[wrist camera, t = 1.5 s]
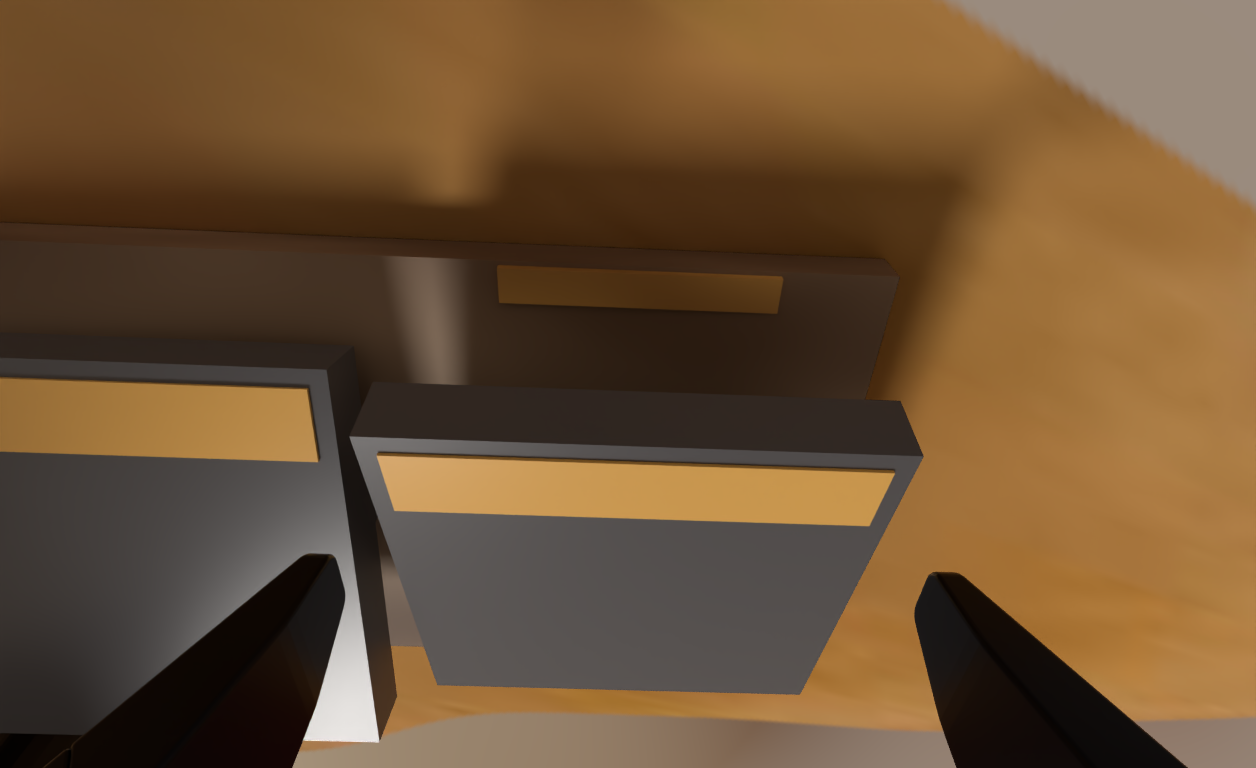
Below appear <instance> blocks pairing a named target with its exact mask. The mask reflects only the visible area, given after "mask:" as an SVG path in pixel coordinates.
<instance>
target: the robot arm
mask: <svg viewBox="0 0 1256 768" xmlns="http://www.w3.org/2000/svg"><path fill="white" fill-rule="evenodd" d="M344 605H345V588H344V584H343V581H342V577H341V574H340V570H339V566H338V563H337V560H336V558H335V557H334V556H333V555H332V554H319V553H308V554H305V555H303V556H301V557H300V558H298V559H297V560H296V561H295V562H294V563H292V564H291V565H290V566H289V567H288V568H286V569H285V570H284V571H283V572H281V573H280V574H279V575H278V576H277V577H275V578H274V579H273V580H272V581H270V582H269V583H268V584H267V585H266V586H264V587H263V588H262V589H261V590H259V591H258V592H257V593H256V594H255V595H253V596H252V597H251V598H250V599H248V600H247V601H246V602H245V603H244V604H242V605H241V606H240V607H239V608H237V609H236V610H235V611H234V612H233V613H231V614H230V615H229V616H228V617H227V618H225V619H224V620H223V621H222V622H220V623H219V624H218V625H217V626H216V627H214V628H213V629H212V630H211V631H209V632H208V633H207V634H206V635H205V636H203V637H202V638H201V639H200V640H198V641H197V642H196V643H195V644H194V645H192V646H191V647H190V648H189V649H187V650H186V651H185V652H184V653H183V654H181V655H180V656H179V657H178V658H176V659H175V660H174V661H173V662H172V663H170V664H169V665H168V666H167V667H165V668H164V669H163V670H162V671H161V672H159V673H158V674H157V675H156V676H155V677H153V678H152V679H151V680H150V681H148V682H147V683H146V684H145V685H144V686H142V687H141V688H140V689H139V690H137V691H136V692H135V693H134V694H133V695H131V696H130V697H129V698H128V699H126V700H125V701H124V702H123V703H122V704H120V705H119V706H118V707H117V708H115V709H114V710H113V711H112V712H111V713H109V714H108V715H107V716H106V717H104V718H103V719H102V720H101V721H100V722H98V723H97V724H96V725H95V726H93V727H92V728H91V729H90V730H89V731H87V732H86V733H85V734H84V735H63V734H22V733H0V768H292V767H293V764H294V762H295V759H296V757H297V754H298V752H299V749H300V747H301V744H302V742H303V739H304V737H305V734H306V732H307V729H308V727H309V724H310V722H311V719H312V716H313V713H314V711H315V708H316V705H317V702H318V699H319V695H320V692H321V689H322V685H323V681H324V678H325V674H326V670H327V667H328V663H329V660H330V656H331V652H332V649H333V645H334V641H335V638H336V634H337V631H338V627H339V623H340V620H341V616H342V612H343V609H344ZM914 616H915V623H916V628H917V632H918V636H919V640H920V644H921V648H922V652H923V656H924V660H925V664H926V668H927V672H928V676H929V680H930V684H931V689H932V693H933V697H934V701H935V705H936V708H937V712H938V716H939V719H940V722H941V725H942V728H943V731H944V734H945V737H946V740H947V743H948V745H949V748H950V751H951V754H952V757H953V759H954V762H955V765H956V768H1188V767H1186V766H1185V765H1184V764H1183V763H1181V762H1180V761H1179V760H1178V759H1177V758H1176V757H1175V756H1173V755H1172V754H1171V753H1170V752H1169V751H1168V750H1166V749H1165V748H1164V747H1163V746H1162V745H1161V744H1159V743H1158V742H1157V741H1156V740H1155V739H1153V738H1152V737H1151V736H1150V735H1149V734H1148V733H1147V732H1145V731H1144V730H1143V729H1142V728H1141V727H1140V726H1138V725H1137V724H1136V723H1135V722H1134V721H1133V720H1131V719H1130V718H1129V717H1128V716H1127V715H1125V714H1124V713H1123V712H1122V711H1121V710H1120V709H1118V708H1117V707H1116V706H1115V705H1114V704H1113V703H1111V702H1110V701H1109V700H1108V699H1107V698H1106V697H1104V696H1103V695H1102V694H1101V693H1100V692H1099V691H1097V690H1096V689H1095V688H1094V687H1093V686H1092V685H1090V684H1089V683H1088V682H1087V681H1086V680H1084V679H1083V678H1082V677H1081V676H1080V675H1079V674H1077V673H1076V672H1075V671H1074V670H1073V669H1072V668H1070V667H1069V666H1068V665H1067V664H1066V663H1065V662H1063V661H1062V660H1061V659H1060V658H1059V657H1058V656H1056V655H1055V654H1054V653H1053V652H1052V651H1051V650H1049V649H1048V648H1047V647H1046V646H1045V645H1043V644H1042V643H1041V642H1040V641H1039V640H1038V639H1036V638H1035V637H1034V636H1033V635H1032V634H1031V633H1029V632H1028V631H1027V630H1026V629H1025V628H1024V627H1022V626H1021V625H1020V624H1019V623H1018V622H1017V621H1015V620H1014V619H1013V618H1012V617H1011V616H1010V615H1008V614H1007V613H1006V612H1005V611H1004V610H1003V609H1001V608H1000V607H999V606H998V605H997V604H995V603H994V602H993V601H992V600H991V599H990V598H988V597H987V596H986V595H985V594H984V593H983V592H981V591H980V590H979V589H978V588H977V587H976V586H974V585H973V584H972V583H971V582H970V581H969V580H967V579H966V578H965V577H964V576H962V575H961V574H959V573H954V572H932V573H931V574H930V575H929V576H928V578H927V580H926V582H925V584H924V587H923V589H922V592H921V594H920V596H919V599H918V601H917V604H916V607H915V615H914Z"/></svg>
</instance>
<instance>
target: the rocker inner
mask: <svg viewBox="0 0 1256 768" xmlns="http://www.w3.org/2000/svg"><path fill="white" fill-rule="evenodd" d="M360 411H361V400H360V392H359V384H358V376H357V368H356V359H355V351H354V346H351V345H325V344H298V343H272V342H245V341H219V340H192V339H166V338H139V337H113V336H86V335H59V334H33V333H6V332H0V733H22V734H63V735H84V734H85V733H86V732H87V731H89V730H90V729H91V728H92V727H93V726H95V725H96V724H97V723H98V722H100V721H101V720H102V719H103V718H104V717H106V716H107V715H108V714H109V713H111V712H112V711H113V710H114V709H115V708H117V707H118V706H119V705H120V704H122V703H123V702H124V701H125V700H126V699H128V698H129V697H130V696H131V695H133V694H134V693H135V692H136V691H137V690H139V689H140V688H141V687H142V686H144V685H145V684H146V683H147V682H148V681H150V680H151V679H152V678H153V677H155V676H156V675H157V674H158V673H159V672H161V671H162V670H163V669H164V668H165V667H167V666H168V665H169V664H170V663H172V662H173V661H174V660H175V659H176V658H178V657H179V656H180V655H181V654H183V653H184V652H185V651H186V650H187V649H189V648H190V647H191V646H192V645H194V644H195V643H196V642H197V641H198V640H200V639H201V638H202V637H203V636H205V635H206V634H207V633H208V632H209V631H211V630H212V629H213V628H214V627H216V626H217V625H218V624H219V623H220V622H222V621H223V620H224V619H225V618H227V617H228V616H229V615H230V614H231V613H233V612H234V611H235V610H236V609H237V608H239V607H240V606H241V605H242V604H244V603H245V602H246V601H247V600H248V599H250V598H251V597H252V596H253V595H255V594H256V593H257V592H258V591H259V590H261V589H262V588H263V587H264V586H266V585H267V584H268V583H269V582H270V581H272V580H273V579H274V578H275V577H277V576H278V575H279V574H280V573H281V572H283V571H284V570H285V569H286V568H288V567H289V566H290V565H291V564H292V563H294V562H295V561H296V560H297V559H298V558H300V557H301V556H303V555H305V554H308V553H319V554H332V555H333V556H334V557H335V558H336V560H337V563H338V566H339V570H340V574H341V577H342V581H343V584H344V588H345V605H344V609H343V612H342V616H341V620H340V623H339V627H338V631H337V634H336V638H335V641H334V645H333V649H332V652H331V656H330V660H329V663H328V667H327V670H326V674H325V678H324V681H323V685H322V689H321V692H320V695H319V699H318V702H317V705H316V708H315V711H314V713H313V716H312V719H311V722H310V724H309V727H308V729H307V732H306V734H305V737H304V739H303V740H308V741H349V742H380V739H381V737H382V734H383V731H384V729H385V726H386V724H387V721H388V718H389V716H390V713H391V711H392V708H393V705H394V703H395V700H396V698H397V693H396V684H395V676H394V668H393V660H392V652H391V644H390V636H389V628H388V619H387V611H386V603H385V595H384V587H383V579H382V571H381V563H380V554H379V546H378V538H377V530H376V522H375V514H374V506H373V502H372V499H371V496H370V493H369V491H368V488H367V485H366V482H365V479H364V477H363V474H362V471H361V468H360V465H359V462H358V460H357V457H356V454H355V451H354V448H353V446H352V443H351V440H350V437H349V436H350V434H351V431H352V429H353V427H354V424H355V422H356V420H357V418H358V415H359V413H360Z"/></svg>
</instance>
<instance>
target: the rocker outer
mask: <svg viewBox="0 0 1256 768" xmlns="http://www.w3.org/2000/svg"><path fill="white" fill-rule="evenodd" d="M349 437H350V440H351V443H352V446H353V448H354V451H355V454H356V457H357V460H358V462H359V465H360V468H361V471H362V474H363V477H364V479H365V482H366V485H367V488H368V491H369V493H370V496H371V499H372V502H373V505H374V508H375V510H376V513H377V516H378V519H379V522H380V524H381V527H382V530H383V533H384V536H385V539H386V541H387V544H388V547H389V550H390V553H391V555H392V558H393V561H394V564H395V567H396V570H397V572H398V575H399V578H400V581H401V584H402V586H403V589H404V592H405V595H406V598H407V601H408V603H409V606H410V609H411V612H412V615H413V617H414V620H415V623H416V626H417V629H418V631H419V634H420V637H421V640H422V643H423V646H424V648H425V651H426V654H427V657H428V660H429V662H430V665H431V668H432V671H433V674H434V677H435V679H436V682H437V685H454V686H491V687H529V688H567V689H605V690H643V691H681V692H719V693H757V694H795V695H800V693H801V691H802V690H803V688H804V686H805V684H806V682H807V680H808V678H809V676H810V674H811V672H812V670H813V668H814V666H815V665H816V663H817V661H818V659H819V657H820V655H821V653H822V651H823V649H824V647H825V645H826V643H827V641H828V640H829V638H830V636H831V634H832V632H833V630H834V628H835V626H836V624H837V622H838V620H839V618H840V616H841V615H842V613H843V611H844V609H845V607H846V605H847V603H848V601H849V599H850V597H851V595H852V593H853V591H854V589H855V588H856V586H857V584H858V582H859V580H860V578H861V576H862V574H863V572H864V570H865V568H866V566H867V564H868V563H869V561H870V559H871V557H872V555H873V553H874V551H875V549H876V547H877V545H878V543H879V541H880V539H881V538H882V536H883V534H884V532H885V530H886V528H887V526H888V524H889V522H890V520H891V518H892V516H893V514H894V513H895V511H896V509H897V507H898V505H899V503H900V501H901V499H902V497H903V495H904V493H905V491H906V489H907V487H908V486H909V484H910V482H911V480H912V478H913V476H914V474H915V472H916V470H917V468H918V466H919V464H920V462H921V461H922V459H923V457H924V456H923V454H922V451H921V449H920V447H919V444H918V442H917V439H916V437H915V435H914V432H913V430H912V428H911V425H910V423H909V420H908V418H907V416H906V413H905V411H904V409H903V406H902V404H901V402H900V401H888V400H861V399H833V398H806V397H779V396H751V395H724V394H696V393H669V392H642V391H614V390H587V389H559V388H532V387H504V386H477V385H450V384H422V383H395V382H373V383H372V385H371V387H370V390H369V392H368V394H367V397H366V399H365V401H364V404H363V406H362V408H361V411H360V413H359V415H358V418H357V420H356V422H355V424H354V427H353V429H352V431H351V434H350V436H349Z"/></svg>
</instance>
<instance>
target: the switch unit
mask: <svg viewBox="0 0 1256 768" xmlns="http://www.w3.org/2000/svg"><path fill="white" fill-rule="evenodd" d="M899 278H900V276H899V275H898V274H897V273H896V272H895V271H894V269H893V268H892V267H891V266H890V265H889V264H888V262H887V261H886V260H885V259H874V258H850V257H825V256H801V255H777V254H753V253H729V252H704V251H680V250H656V249H632V248H608V247H583V246H559V245H535V244H511V243H487V242H462V241H438V240H414V239H390V238H366V237H341V236H317V235H293V234H269V233H244V232H220V231H196V230H172V229H148V228H123V227H99V226H75V225H51V224H27V223H2V222H0V332H6V333H33V334H59V335H86V336H113V337H139V338H166V339H192V340H219V341H245V342H272V343H298V344H325V345H351V346H354V351H355V359H356V368H357V376H358V384H359V392H360V400H361V408H362V406H363V404H364V401H365V399H366V397H367V394H368V392H369V390H370V387H371V385H372V383H373V382H395V383H422V384H450V385H477V386H504V387H532V388H559V389H587V390H614V391H642V392H669V393H696V394H724V395H751V396H779V397H806V398H833V399H861V400H865V398H866V394H867V391H868V387H869V384H870V380H871V377H872V373H873V370H874V366H875V363H876V359H877V356H878V352H879V349H880V345H881V341H882V338H883V334H884V331H885V327H886V324H887V320H888V317H889V313H890V310H891V306H892V303H893V299H894V296H895V292H896V289H897V285H898V282H899ZM373 506H374V505H373ZM374 514H375V522H376V530H377V538H378V546H379V554H380V563H381V571H382V579H383V587H384V595H385V603H386V611H387V619H388V628H389V636H390V644H391V646H420V647H424V646H423V643H422V640H421V637H420V634H419V631H418V629H417V626H416V623H415V620H414V617H413V615H412V612H411V609H410V606H409V603H408V601H407V598H406V595H405V592H404V589H403V586H402V584H401V581H400V578H399V575H398V572H397V570H396V567H395V564H394V561H393V558H392V555H391V553H390V550H389V547H388V544H387V541H386V539H385V536H384V533H383V530H382V527H381V524H380V522H379V519H378V516H377V513H376V510H375V508H374Z"/></svg>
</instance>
